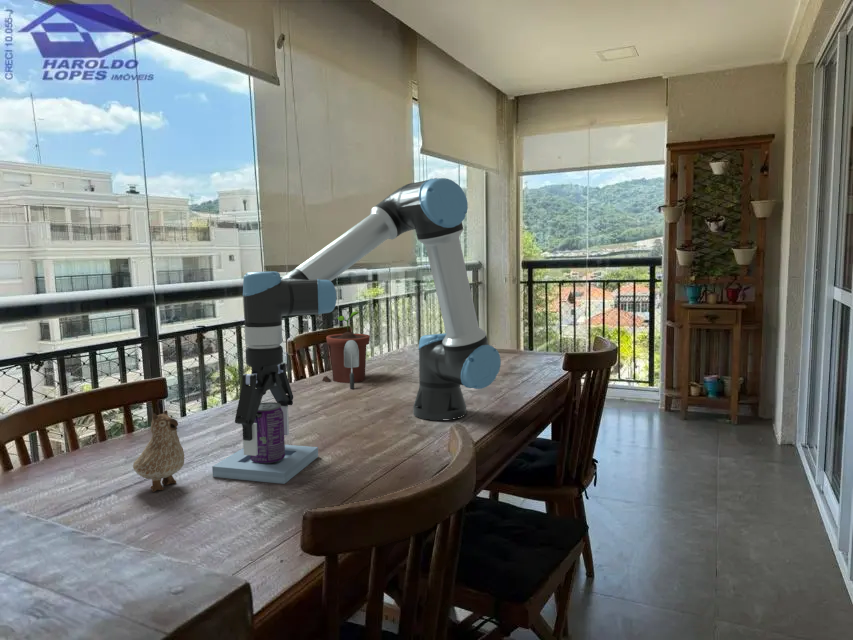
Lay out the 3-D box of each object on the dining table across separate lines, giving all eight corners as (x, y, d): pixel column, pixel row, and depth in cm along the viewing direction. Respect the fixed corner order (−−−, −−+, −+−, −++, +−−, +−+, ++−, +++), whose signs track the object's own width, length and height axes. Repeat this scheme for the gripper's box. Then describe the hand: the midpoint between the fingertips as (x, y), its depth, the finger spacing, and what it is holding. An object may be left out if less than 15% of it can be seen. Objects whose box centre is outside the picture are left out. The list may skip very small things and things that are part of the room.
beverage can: (254, 455, 127) (252, 402, 125) (287, 454, 127) (285, 401, 126) (247, 467, 120) (244, 410, 118) (282, 465, 120) (280, 409, 119)
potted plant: (382, 377, 215) (381, 310, 212) (353, 389, 195) (351, 316, 192) (340, 373, 222) (339, 308, 219) (308, 385, 202) (306, 314, 199)
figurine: (167, 498, 107) (163, 419, 106) (121, 494, 109) (116, 417, 107) (195, 479, 116) (192, 407, 115) (152, 476, 118) (148, 404, 116)
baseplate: (318, 456, 129) (318, 447, 129) (284, 483, 114) (284, 473, 114) (253, 451, 133) (253, 441, 133) (212, 476, 118) (212, 466, 117)
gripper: (276, 336, 134) (279, 426, 136) (212, 354, 110) (217, 463, 112) (306, 337, 132) (309, 428, 134) (248, 356, 108) (252, 466, 110)
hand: (267, 444), depth 123 cm, fingers open, 13 cm apart
